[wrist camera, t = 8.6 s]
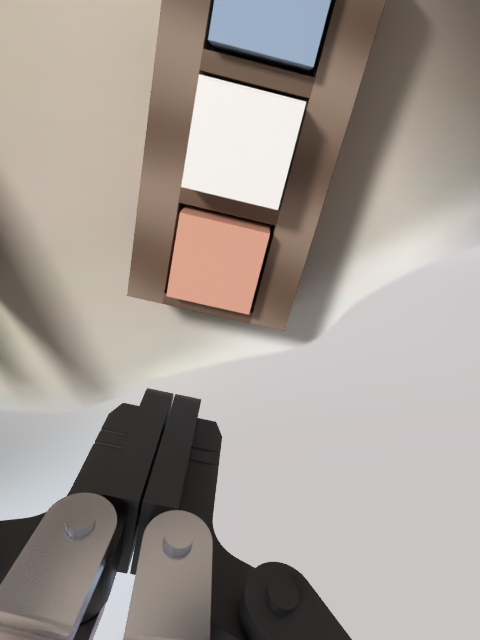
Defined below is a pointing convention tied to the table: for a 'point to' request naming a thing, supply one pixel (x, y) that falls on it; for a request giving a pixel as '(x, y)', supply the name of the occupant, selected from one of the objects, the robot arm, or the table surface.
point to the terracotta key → (217, 259)
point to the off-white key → (241, 142)
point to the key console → (305, 167)
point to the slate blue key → (270, 30)
